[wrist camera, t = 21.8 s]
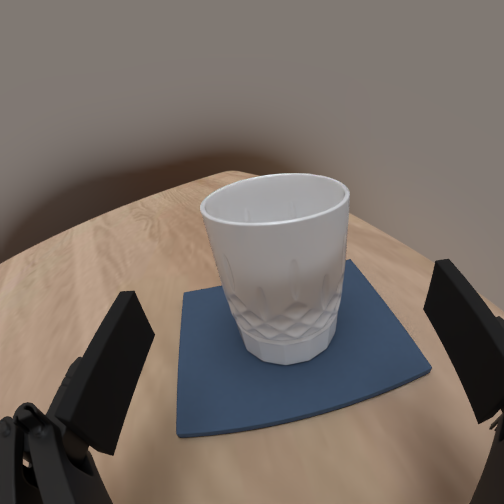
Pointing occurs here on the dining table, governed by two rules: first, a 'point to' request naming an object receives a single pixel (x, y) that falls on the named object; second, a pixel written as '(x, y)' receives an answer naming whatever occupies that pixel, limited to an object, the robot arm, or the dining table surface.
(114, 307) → the robot arm
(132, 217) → the dining table surface
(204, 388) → the glassware mat
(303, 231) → the white cup
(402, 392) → the dining table surface
